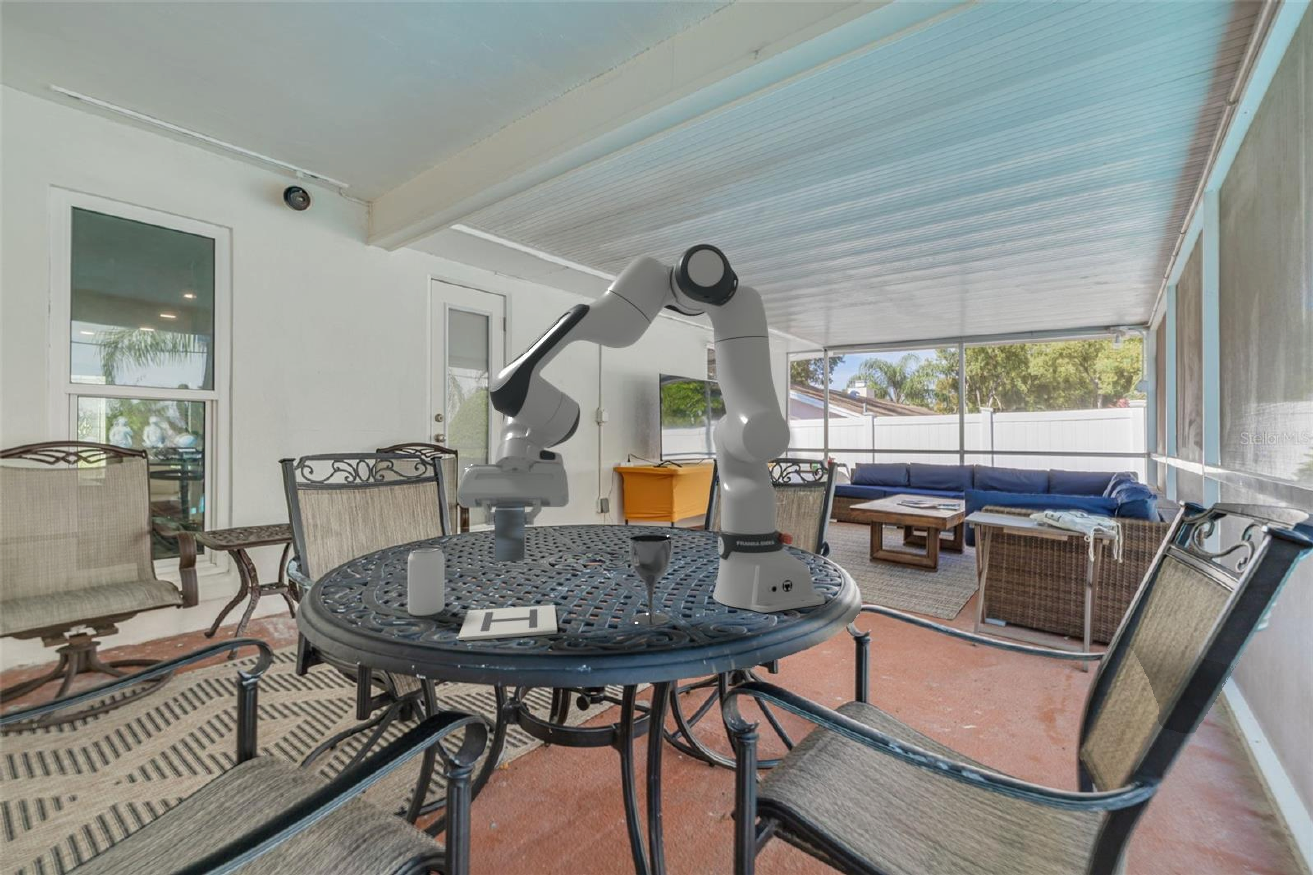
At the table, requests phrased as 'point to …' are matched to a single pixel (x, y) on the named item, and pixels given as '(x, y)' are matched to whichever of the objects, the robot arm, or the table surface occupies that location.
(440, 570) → the can
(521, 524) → the slate block
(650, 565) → the wine glass
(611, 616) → the table surface
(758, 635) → the table surface
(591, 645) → the table surface
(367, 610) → the table surface
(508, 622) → the letter board
